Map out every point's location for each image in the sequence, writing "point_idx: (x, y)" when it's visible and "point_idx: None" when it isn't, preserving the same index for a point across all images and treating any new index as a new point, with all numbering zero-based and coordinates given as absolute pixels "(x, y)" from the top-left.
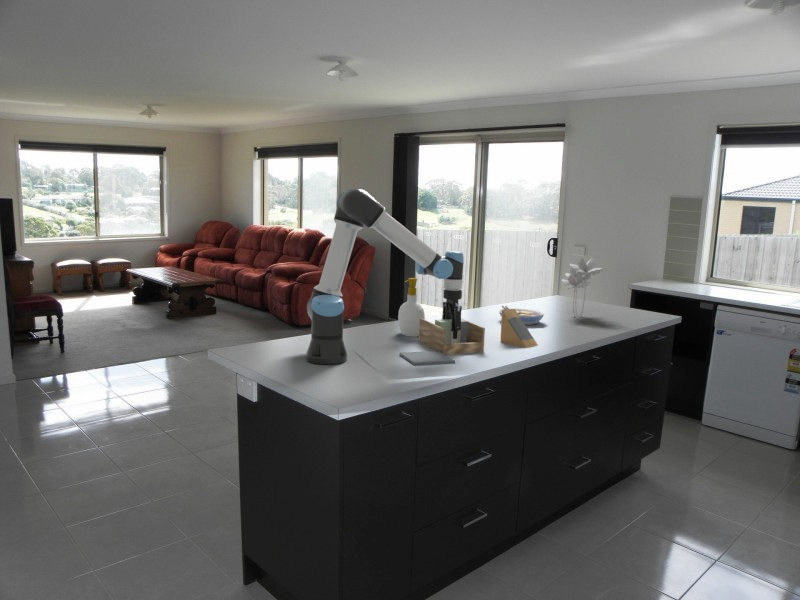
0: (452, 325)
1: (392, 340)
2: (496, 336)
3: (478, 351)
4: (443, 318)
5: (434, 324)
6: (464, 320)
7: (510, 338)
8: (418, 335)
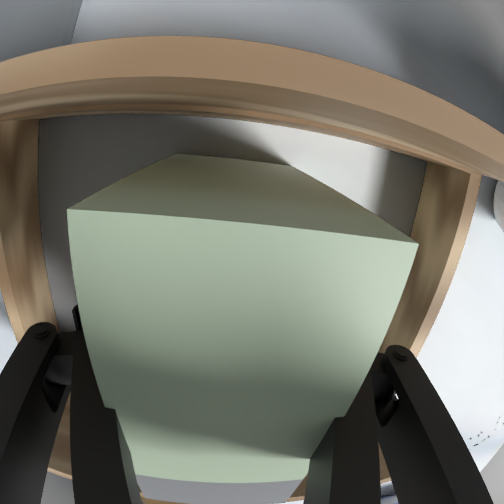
0: (91, 365)
1: (481, 33)
2: None
3: None
4: (410, 403)
5: (134, 59)
6: (193, 501)
7: None
8: (496, 204)
